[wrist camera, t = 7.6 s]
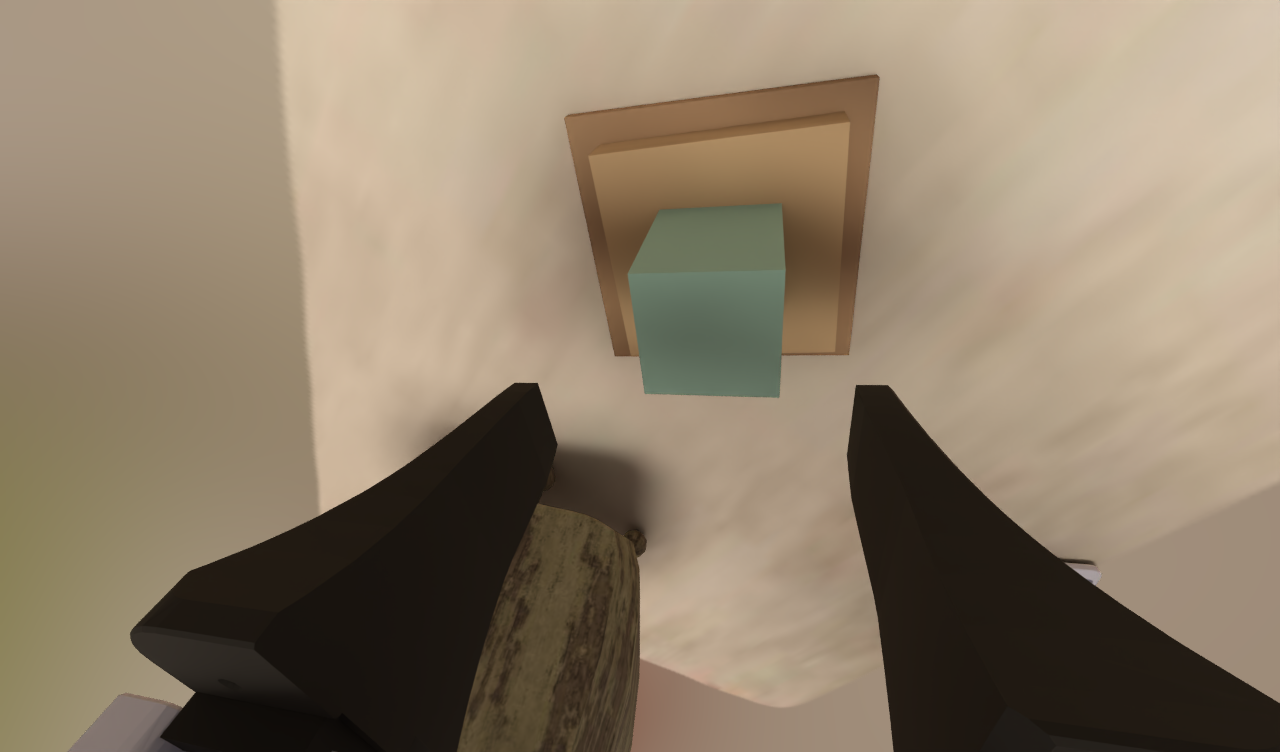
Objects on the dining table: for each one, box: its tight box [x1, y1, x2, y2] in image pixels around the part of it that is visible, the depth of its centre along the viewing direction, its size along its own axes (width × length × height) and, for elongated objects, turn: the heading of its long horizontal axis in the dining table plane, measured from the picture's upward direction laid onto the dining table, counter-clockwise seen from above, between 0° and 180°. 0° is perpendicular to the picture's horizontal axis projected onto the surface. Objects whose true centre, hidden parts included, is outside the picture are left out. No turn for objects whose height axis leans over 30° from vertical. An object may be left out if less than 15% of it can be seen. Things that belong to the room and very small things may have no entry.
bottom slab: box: [564, 74, 880, 356], centre depth 20 cm, size 10×10×2 cm
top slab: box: [588, 111, 850, 356], centre depth 19 cm, size 8×8×2 cm
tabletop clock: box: [457, 467, 647, 752], centre depth 21 cm, size 14×9×25 cm, turn 90°
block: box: [628, 203, 786, 398], centre depth 16 cm, size 4×4×5 cm
